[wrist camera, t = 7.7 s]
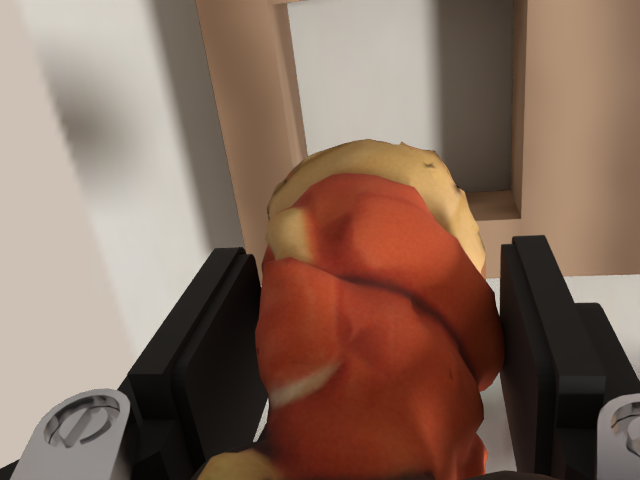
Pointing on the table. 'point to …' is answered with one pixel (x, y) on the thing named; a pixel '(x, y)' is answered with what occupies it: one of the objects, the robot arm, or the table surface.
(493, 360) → the figurine
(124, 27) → the table surface
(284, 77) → the jig
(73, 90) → the table surface
